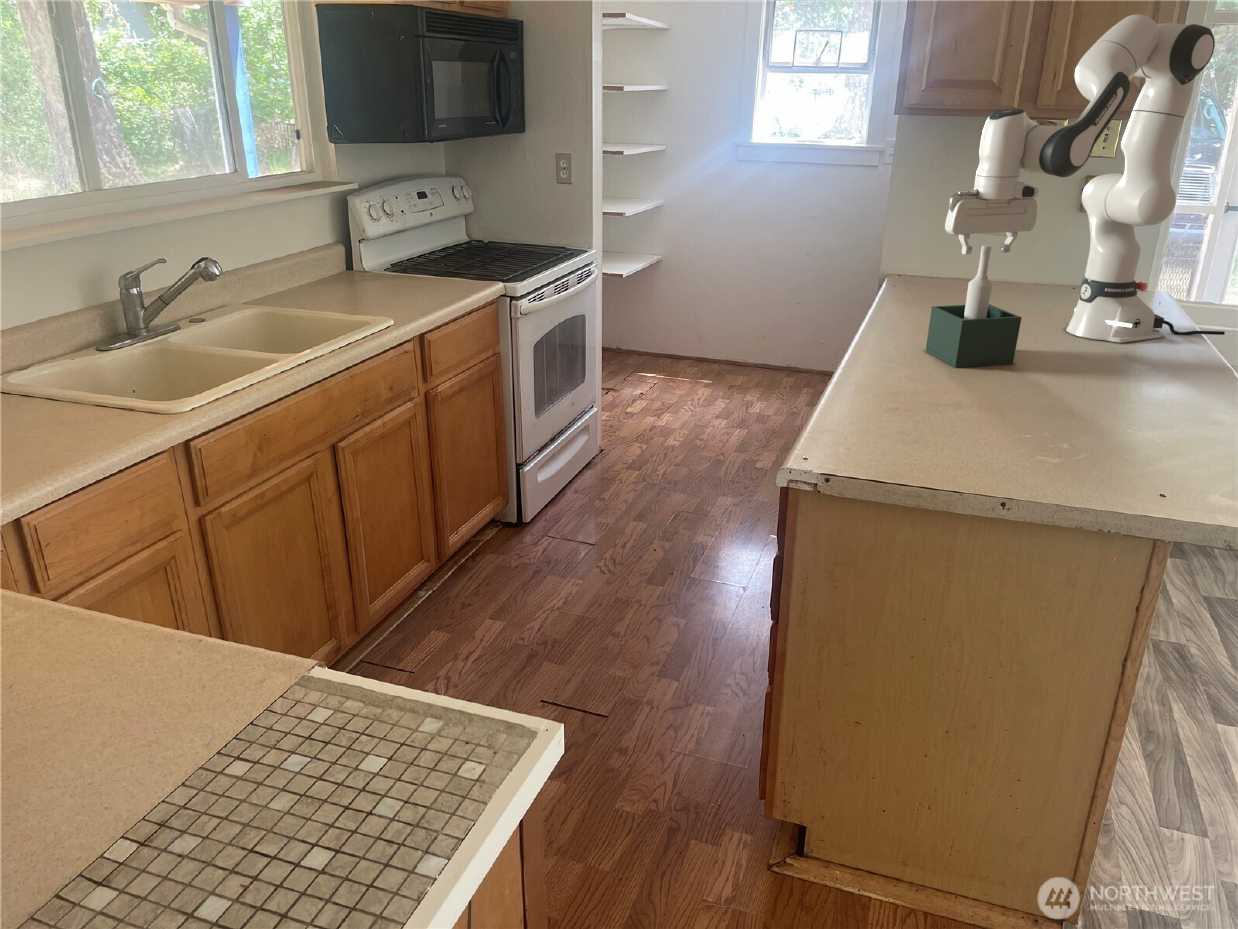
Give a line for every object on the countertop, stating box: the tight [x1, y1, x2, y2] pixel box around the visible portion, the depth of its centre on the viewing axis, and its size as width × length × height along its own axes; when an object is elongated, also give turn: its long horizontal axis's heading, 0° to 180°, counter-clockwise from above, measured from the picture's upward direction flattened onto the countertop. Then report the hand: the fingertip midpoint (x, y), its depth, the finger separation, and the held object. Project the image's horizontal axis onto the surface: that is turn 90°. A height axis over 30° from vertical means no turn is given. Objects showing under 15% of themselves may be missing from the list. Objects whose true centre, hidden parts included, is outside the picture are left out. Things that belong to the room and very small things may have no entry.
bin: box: [925, 303, 1022, 369], centre depth 203 cm, size 15×14×11 cm
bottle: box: [964, 244, 993, 319], centre depth 200 cm, size 5×5×25 cm
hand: (985, 253), depth 196 cm, fingers open, 8 cm apart
